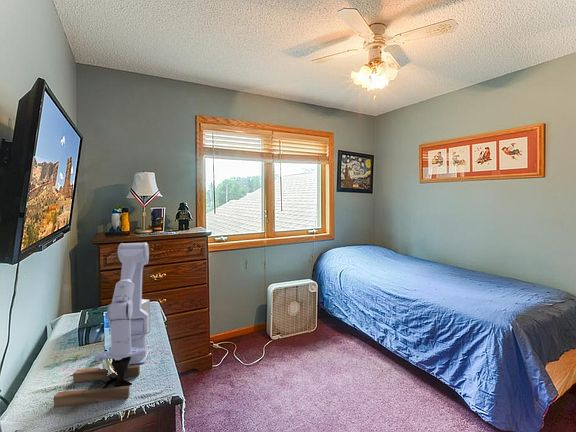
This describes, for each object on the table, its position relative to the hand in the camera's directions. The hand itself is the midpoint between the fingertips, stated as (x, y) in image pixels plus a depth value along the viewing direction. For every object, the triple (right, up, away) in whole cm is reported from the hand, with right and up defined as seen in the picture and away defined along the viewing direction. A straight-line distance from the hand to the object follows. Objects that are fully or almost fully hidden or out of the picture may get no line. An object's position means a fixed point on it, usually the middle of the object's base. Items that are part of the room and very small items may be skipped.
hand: (122, 379), depth 100 cm
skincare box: (-13, 0, +37) cm, 39 cm away
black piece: (-3, -3, -1) cm, 5 cm away
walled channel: (-6, -3, -1) cm, 7 cm away
